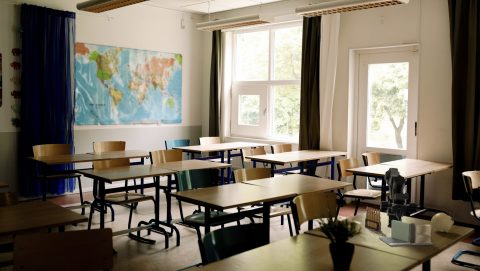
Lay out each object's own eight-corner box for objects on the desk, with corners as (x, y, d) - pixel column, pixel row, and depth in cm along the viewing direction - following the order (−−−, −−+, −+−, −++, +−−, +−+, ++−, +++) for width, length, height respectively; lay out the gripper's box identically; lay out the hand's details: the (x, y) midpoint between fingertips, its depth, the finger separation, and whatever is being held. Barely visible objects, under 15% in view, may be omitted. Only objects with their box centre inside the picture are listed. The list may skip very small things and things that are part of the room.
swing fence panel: (409, 241, 238) (410, 223, 237) (408, 241, 237) (408, 224, 236) (392, 236, 246) (393, 219, 245) (391, 237, 245) (391, 220, 244)
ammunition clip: (364, 226, 268) (365, 206, 267) (366, 226, 269) (367, 205, 268) (378, 231, 259) (379, 210, 258) (381, 231, 260) (381, 209, 259)
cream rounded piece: (457, 232, 257) (458, 213, 256) (442, 235, 251) (443, 215, 251) (441, 228, 266) (442, 209, 265) (427, 230, 260) (427, 212, 259)
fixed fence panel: (428, 241, 238) (429, 222, 238) (430, 243, 236) (431, 223, 235) (409, 242, 237) (409, 223, 236) (411, 243, 235) (411, 224, 234)
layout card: (419, 236, 249) (419, 235, 249) (432, 244, 235) (432, 243, 235) (378, 238, 246) (378, 237, 246) (390, 246, 232) (390, 245, 232)
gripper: (381, 186, 252) (382, 211, 242) (418, 187, 248) (420, 213, 238) (379, 197, 260) (380, 222, 250) (415, 199, 256) (417, 224, 246)
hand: (399, 220), depth 246 cm, fingers closed
